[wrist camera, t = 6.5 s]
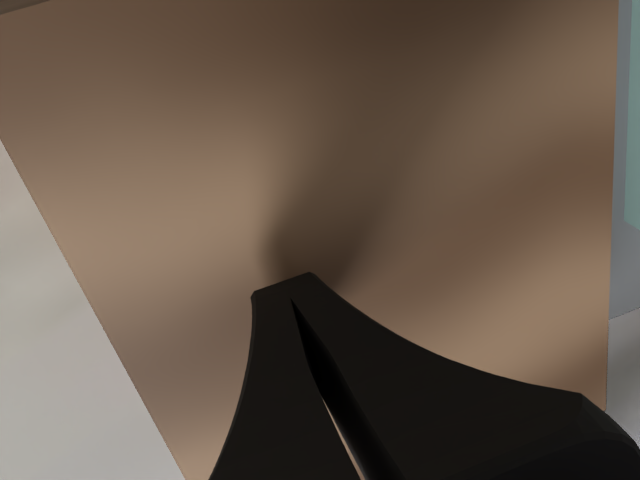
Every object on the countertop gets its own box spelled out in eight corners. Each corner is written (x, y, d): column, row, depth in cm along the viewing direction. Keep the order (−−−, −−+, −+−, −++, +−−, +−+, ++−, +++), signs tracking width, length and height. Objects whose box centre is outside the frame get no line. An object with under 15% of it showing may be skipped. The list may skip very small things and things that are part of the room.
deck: (530, 333, 22) (605, 410, 19) (214, 458, 20) (232, 566, 17) (504, -145, 14) (624, -163, 11) (-11, -1, 13) (-59, 31, 9)
